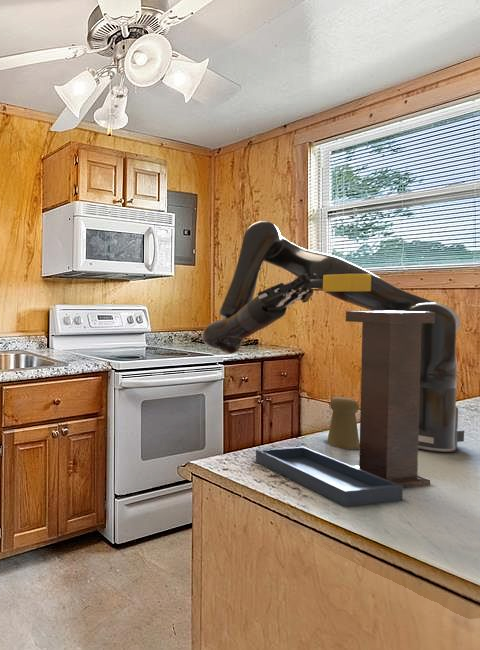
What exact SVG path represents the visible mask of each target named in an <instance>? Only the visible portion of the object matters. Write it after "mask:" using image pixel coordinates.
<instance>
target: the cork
mask: <svg viewBox="0 0 480 650" xmlns="http://www.w3.org/2000/svg"><path fill="white" fill-rule="evenodd" d="M329 406H330V409H331V410H332V413H331V419H330V425H329V430H328V435H327V440H326V442H327V444H328V445H331V446H332V447H335V448H340V449H346V450H358V449H359V450H360V435H359V430H358V423H357V415H356V414H357V413H358V412H359V409H360V408H359V407H360V406H359V403H358V401H356V400H355V399H354V398H353V399H352V398H349V397H344V396H343V397H342V396H339V397H333V398H331V400H330V402H329Z"/></svg>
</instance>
